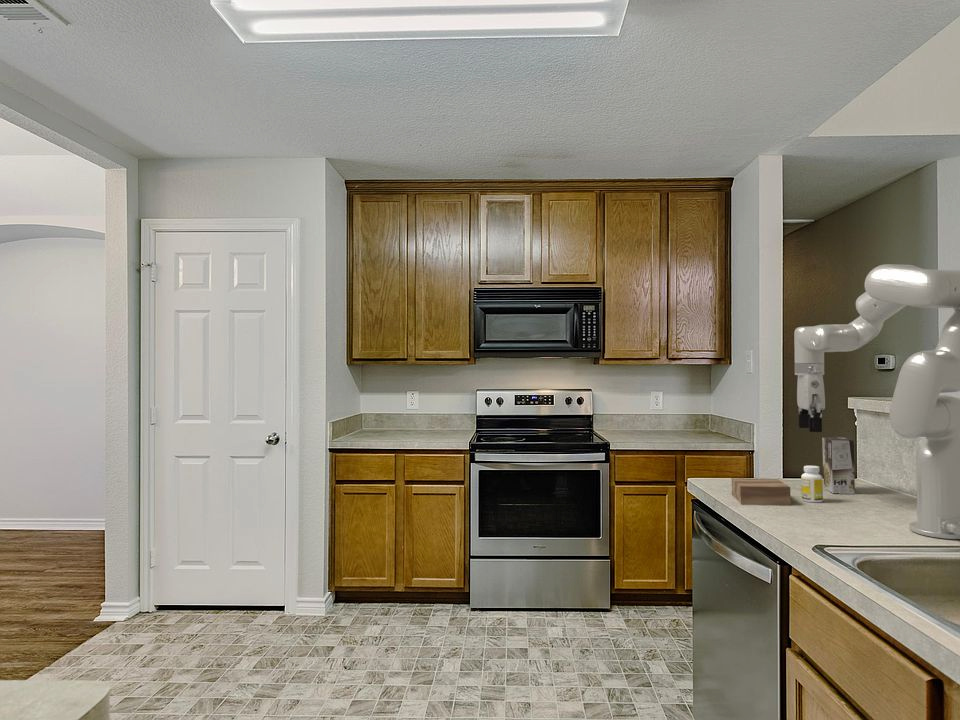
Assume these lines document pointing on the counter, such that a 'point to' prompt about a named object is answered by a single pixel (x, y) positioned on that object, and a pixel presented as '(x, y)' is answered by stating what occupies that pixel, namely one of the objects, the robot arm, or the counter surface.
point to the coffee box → (838, 465)
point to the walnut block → (761, 491)
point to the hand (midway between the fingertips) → (809, 429)
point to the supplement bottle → (812, 484)
